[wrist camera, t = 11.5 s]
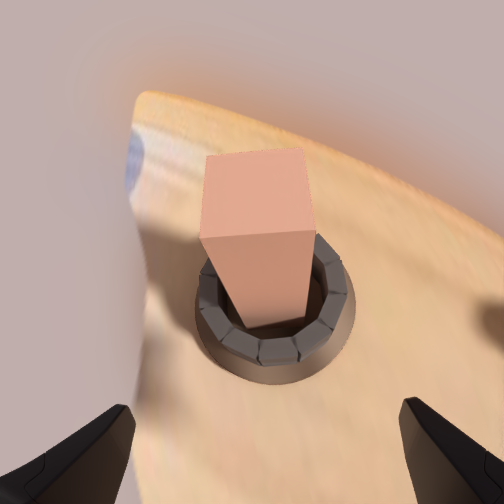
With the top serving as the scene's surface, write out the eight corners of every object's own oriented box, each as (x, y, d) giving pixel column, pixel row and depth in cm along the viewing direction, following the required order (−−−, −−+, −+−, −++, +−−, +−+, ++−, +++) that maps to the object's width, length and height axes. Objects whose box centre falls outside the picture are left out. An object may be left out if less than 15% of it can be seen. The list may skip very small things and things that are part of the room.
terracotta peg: (303, 326, 22) (315, 229, 11) (247, 329, 22) (199, 238, 11) (299, 275, 24) (302, 147, 12) (246, 278, 24) (206, 156, 13)
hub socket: (253, 416, 20) (244, 418, 16) (173, 289, 26) (152, 266, 22) (383, 319, 22) (402, 300, 18) (291, 213, 28) (290, 180, 24)
